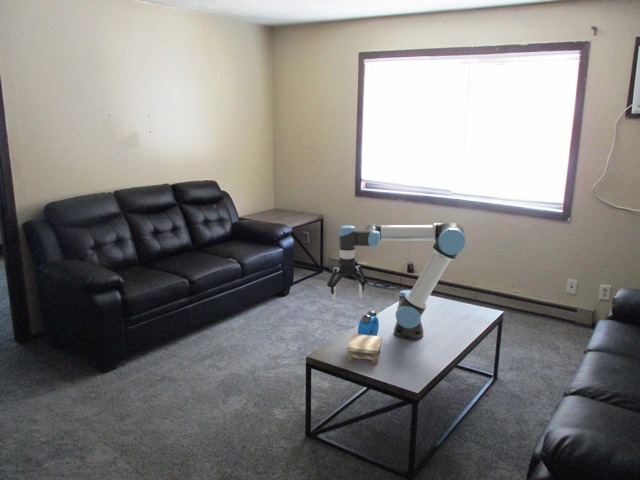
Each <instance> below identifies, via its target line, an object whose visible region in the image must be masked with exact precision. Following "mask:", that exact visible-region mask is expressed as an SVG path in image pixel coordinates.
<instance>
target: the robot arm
mask: <svg viewBox="0 0 640 480" xmlns="http://www.w3.org/2000/svg"><path fill="white" fill-rule="evenodd" d="M338 234H339V235H338V237H339V238H338V239H339V243H338V244H339V267H336V266H334V267H333V268H332V273H331V275H330V277H329V279H328V282H327V284H326V286H327V287H328V288H330V293H331V294H332V300H333V301H334V302H335V301H337V297H336V295H337V294H336V292H337V291H336V289H337V288H336V285H337V284H338V283H339V282H340V280H341V279H342V278H343V277H351V276H353V277H354V278H355V280H357V281H358V282H359V284H358V297H359V298H360V299H362V298H363V292H364V291H365V285H367V284H368V283H369V282H368V280H367V278H366V275H365V274H364V272H363V270H362V266H361V265H360V264H358V265H356V247H369V248H370V247H371V248H374V247H379V246H380V244H381V241H432V242H434V244H433V246H432V249H433V250H432V251H433V252H432V253H431V256H430V257H429V259H428V261H427V263H426V265H425V266H424V268H423V270H422V271H421V273H420V275H419V277H418V278H417V280H416V282H415V284H414V285H413V287H412V289H410V290H409V289H407V290H400V291H399V295H398V304H397V309H396V311H395V321H396V322H395V325H394V328H393V335H394V336H395V337H397V338H400V339H403V340H409V341H410V340H413V341H414V340H419V339H421V338H423V337H424V333H425V331H424V327H423V324H422V316H423V315H424V314H423V313H424V312H425V310H426V309H427V301H428V299H429V297H430V296H431V294H432V292H433V290H434V289H435V287H436V286H437V284H438V282H439V280H440V279H441V277H442V275H443V273H444V272H445V271H446V269H447V267H448V265H449V263H450V261H454V260H455V259H456V258H457V256H458V255H459V253H461V252H462V250H463V249H464V248H465V245H466V236H465V231H464V228H463V227H462V226H461V225H460V224H458V223H456V222H435V223H433V224H414V225H413V224H408V225H407V224H404V225H403V224H402V225H401V224H395V225H393V224H391V225H387V224H386V225H380V224H378V225H377V224H375V223H371V224H368V225H366V226H365V228H364V229H363V230H358V229H357V230H356V227H355V226H354V225H350V224H349V225H348V224H347V225H342V226H340V227H339V233H338ZM356 270H357V271H358V273H359V275H360V277H361V278H360V277H359V276H358V275H357V274H356V273H355V271H356ZM338 272H339V273H338ZM337 274H338V275H337ZM336 275H337V276H336Z"/></svg>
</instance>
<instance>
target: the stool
mask: <svg viewBox="0 0 640 480" xmlns="http://www.w3.org/2000/svg"><path fill="white" fill-rule="evenodd" d="M382 342H383V336H379V335H377V336H371V335H362V334H358V333H352V336H351V339H350V340H349V343H348V345H347V347H346V350H347V351H348V363H353V362H354V358H355V359H361V360H363V359H364V360H371V362H372V366H377V364H378V354H380V353H381V346H382ZM354 352H357V353H366V354H367V353H368V354H372V355H362V354H354Z"/></svg>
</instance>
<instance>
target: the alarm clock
mask: <svg viewBox="0 0 640 480" xmlns="http://www.w3.org/2000/svg"><path fill="white" fill-rule="evenodd" d="M379 321H380V320H379V318H378V316H377V312H376V311H374V310H369V311H367V313H366V314H363V315H362V316H361V318H360V320H359V323H358V328H357V334H362V335H371V336H378V333H379V325H380V323H379Z"/></svg>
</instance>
